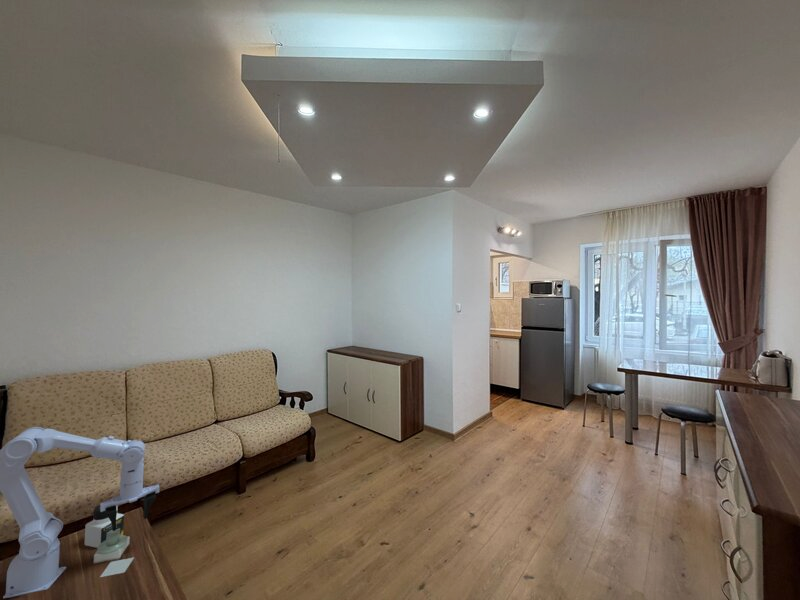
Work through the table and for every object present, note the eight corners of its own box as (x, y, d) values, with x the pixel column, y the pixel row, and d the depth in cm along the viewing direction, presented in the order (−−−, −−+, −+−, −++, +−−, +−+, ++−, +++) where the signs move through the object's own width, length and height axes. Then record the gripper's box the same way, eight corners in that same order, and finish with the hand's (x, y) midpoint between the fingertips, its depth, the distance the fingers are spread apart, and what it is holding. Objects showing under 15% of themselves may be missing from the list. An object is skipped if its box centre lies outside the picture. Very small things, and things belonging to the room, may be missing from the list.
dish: (93, 564, 97) (94, 554, 97) (105, 549, 103) (105, 540, 103) (118, 559, 99) (119, 550, 99) (129, 545, 105) (129, 536, 105)
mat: (99, 578, 92) (99, 577, 92) (110, 563, 98) (110, 561, 98) (124, 573, 94) (124, 572, 94) (134, 558, 100) (134, 557, 100)
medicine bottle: (100, 549, 103) (102, 512, 104) (83, 546, 105) (85, 509, 105) (123, 534, 110) (125, 499, 111) (107, 531, 112) (109, 497, 112)
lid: (92, 556, 97) (93, 542, 97) (105, 540, 103) (105, 527, 103) (120, 551, 99) (121, 537, 99) (131, 536, 106) (131, 523, 106)
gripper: (102, 495, 94) (100, 541, 94) (162, 476, 105) (160, 518, 105) (100, 486, 99) (98, 530, 98) (157, 469, 110) (155, 508, 109)
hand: (130, 523), depth 102 cm, fingers open, 7 cm apart
